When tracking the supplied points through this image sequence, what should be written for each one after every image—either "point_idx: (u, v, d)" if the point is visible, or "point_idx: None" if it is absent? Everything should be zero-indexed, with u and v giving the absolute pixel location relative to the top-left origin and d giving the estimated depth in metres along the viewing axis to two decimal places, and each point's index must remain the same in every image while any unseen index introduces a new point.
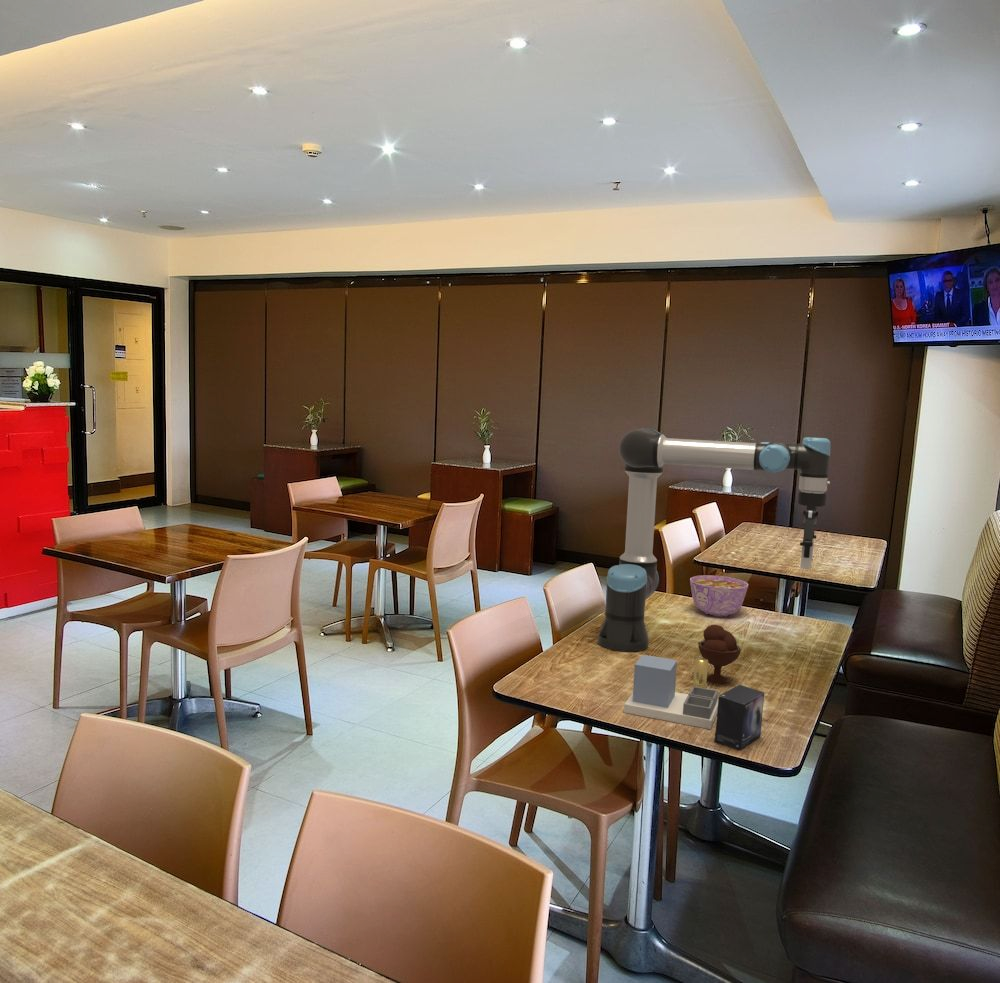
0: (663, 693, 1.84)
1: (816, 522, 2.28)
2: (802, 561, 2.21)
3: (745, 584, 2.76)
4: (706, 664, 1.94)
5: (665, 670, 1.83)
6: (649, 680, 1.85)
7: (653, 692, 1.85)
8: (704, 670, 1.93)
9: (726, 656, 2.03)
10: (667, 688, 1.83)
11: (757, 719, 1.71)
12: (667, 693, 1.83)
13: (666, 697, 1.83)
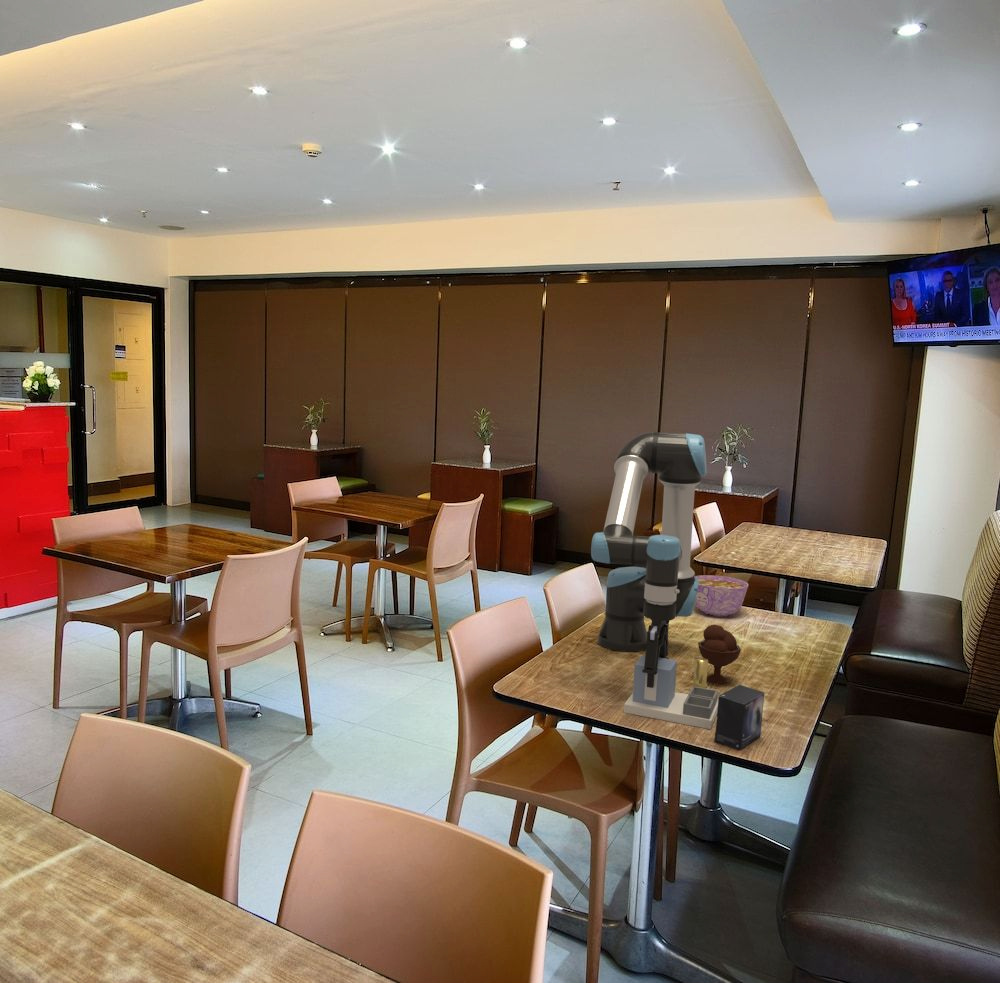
0: (663, 693, 1.84)
1: (666, 638, 1.89)
2: (645, 691, 1.85)
3: (745, 584, 2.76)
4: (706, 664, 1.94)
5: (665, 670, 1.83)
6: None
7: None
8: (704, 670, 1.93)
9: (726, 656, 2.03)
10: (667, 688, 1.83)
11: (757, 719, 1.71)
12: (667, 693, 1.83)
13: (666, 697, 1.83)
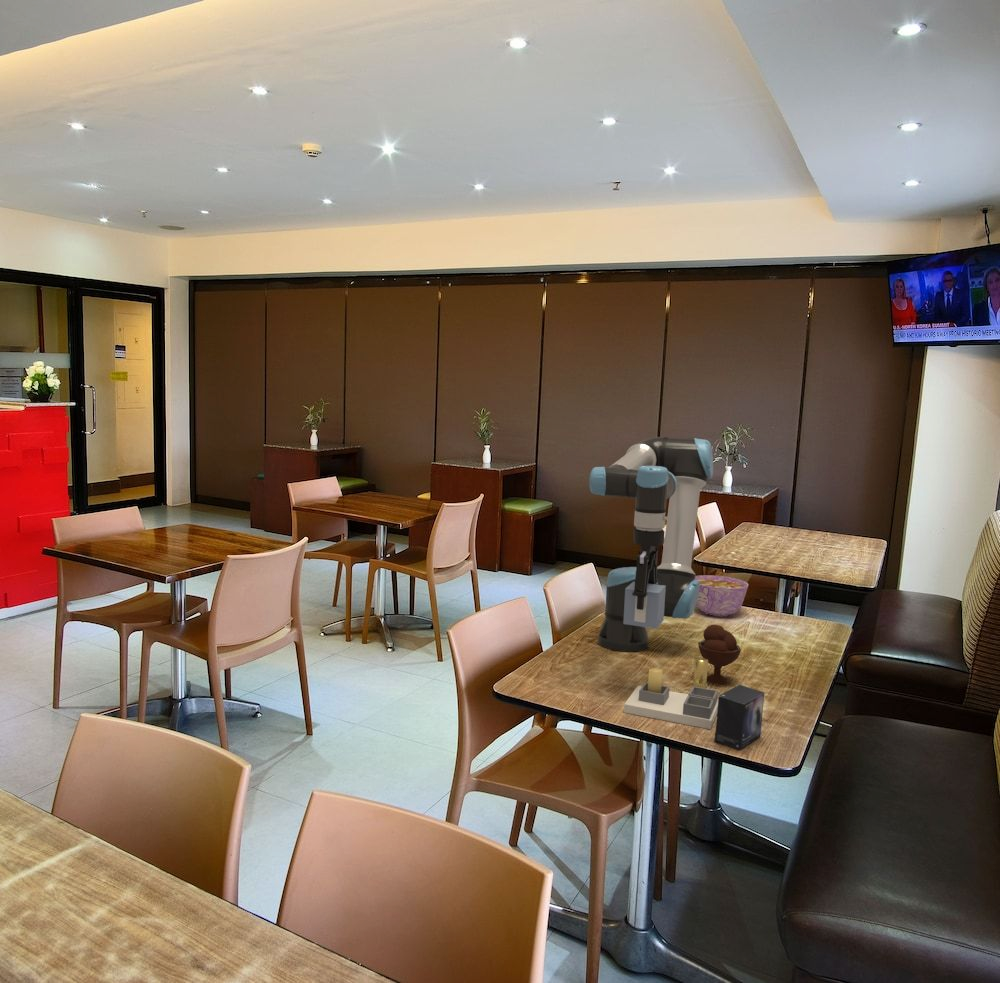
0: (652, 615, 1.93)
1: (655, 564, 1.98)
2: (635, 613, 1.94)
3: (745, 584, 2.76)
4: (706, 664, 1.94)
5: (654, 593, 1.93)
6: None
7: None
8: (704, 670, 1.93)
9: (726, 656, 2.03)
10: (656, 610, 1.93)
11: (757, 719, 1.71)
12: (656, 615, 1.93)
13: (655, 618, 1.93)
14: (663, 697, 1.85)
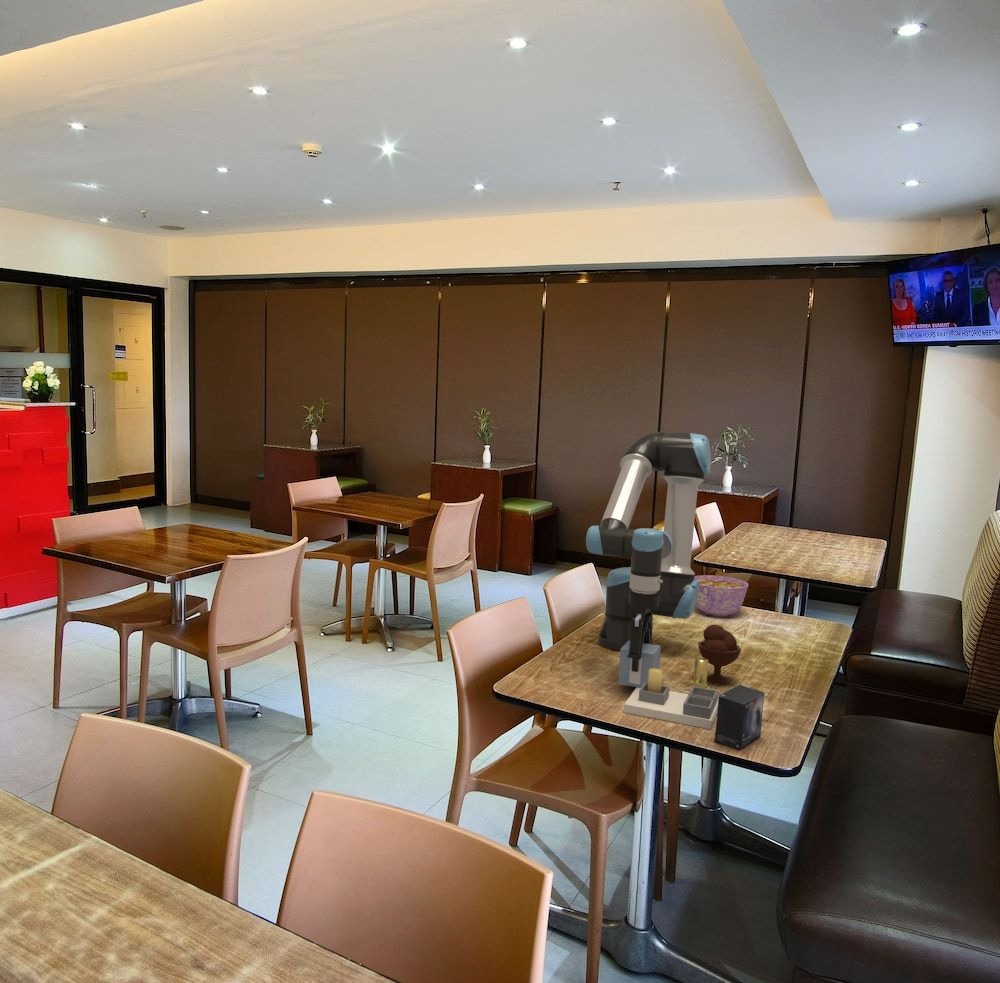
0: (647, 676, 1.95)
1: (650, 626, 2.00)
2: (630, 675, 1.96)
3: (745, 584, 2.76)
4: (706, 664, 1.94)
5: (649, 654, 1.95)
6: None
7: None
8: (704, 670, 1.93)
9: (726, 656, 2.03)
10: None
11: (757, 719, 1.71)
12: None
13: None
14: (663, 697, 1.85)
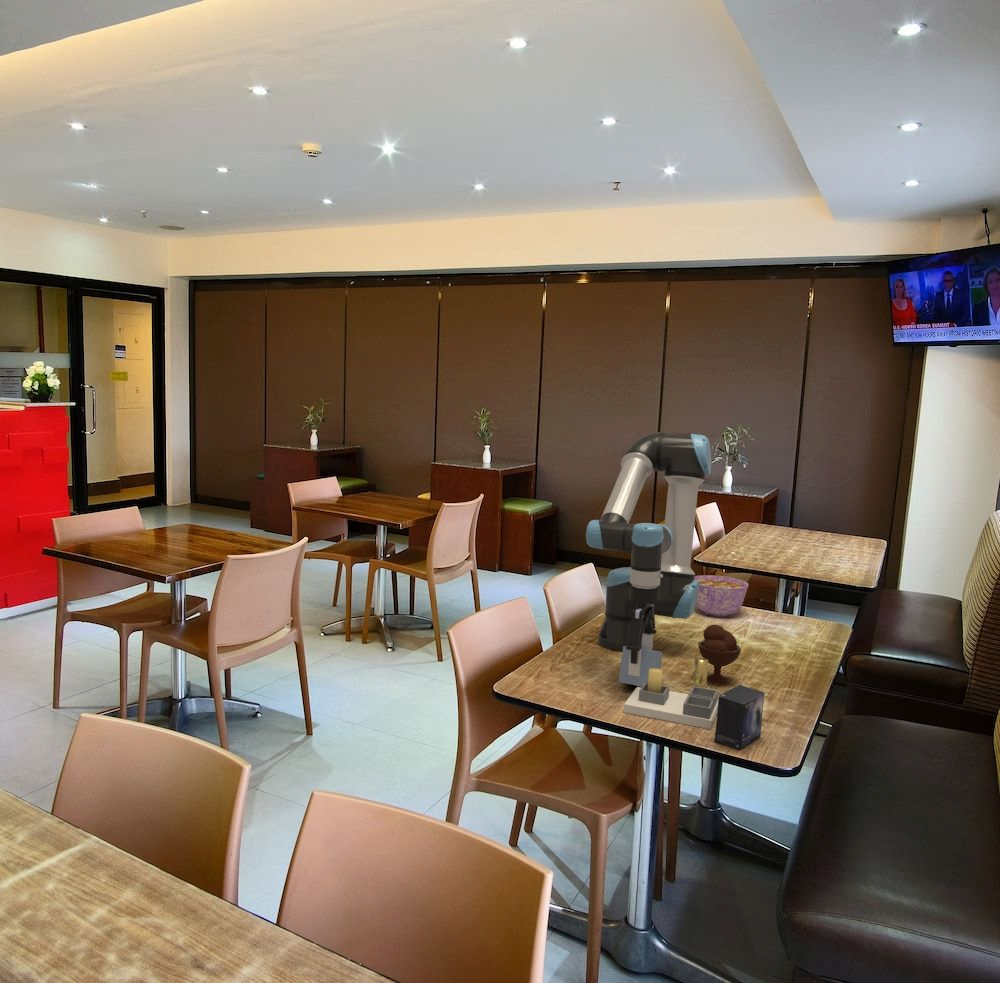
0: (648, 674, 1.96)
1: (651, 618, 2.01)
2: (629, 667, 1.94)
3: (745, 584, 2.76)
4: (706, 664, 1.94)
5: (651, 651, 1.97)
6: None
7: None
8: (704, 670, 1.93)
9: (726, 656, 2.03)
10: None
11: (757, 719, 1.71)
12: None
13: None
14: (663, 697, 1.85)
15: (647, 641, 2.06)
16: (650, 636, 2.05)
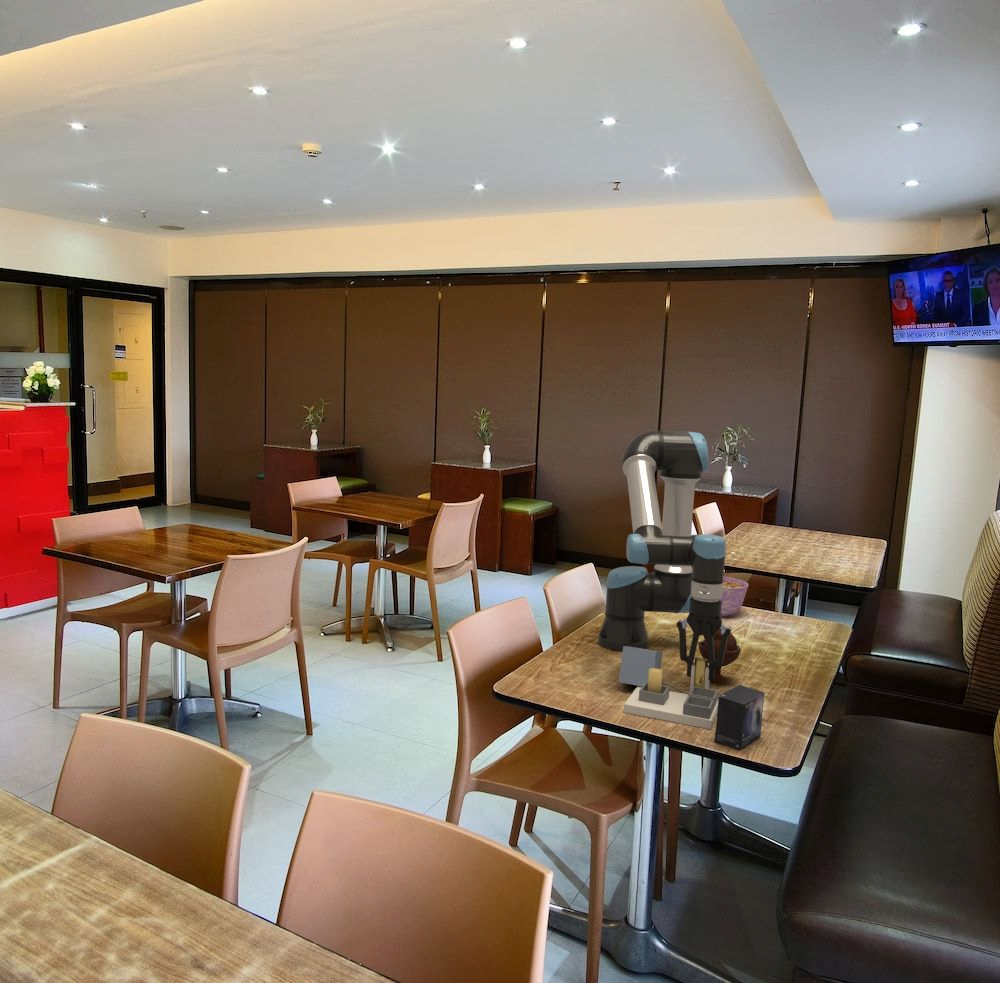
0: (648, 674, 1.96)
1: None
2: None
3: (745, 584, 2.76)
4: (706, 664, 1.94)
5: (651, 651, 1.97)
6: (635, 661, 1.98)
7: (639, 673, 1.97)
8: (704, 670, 1.93)
9: (726, 656, 2.03)
10: None
11: (757, 719, 1.71)
12: None
13: None
14: (663, 697, 1.85)
15: None
16: (706, 668, 1.94)
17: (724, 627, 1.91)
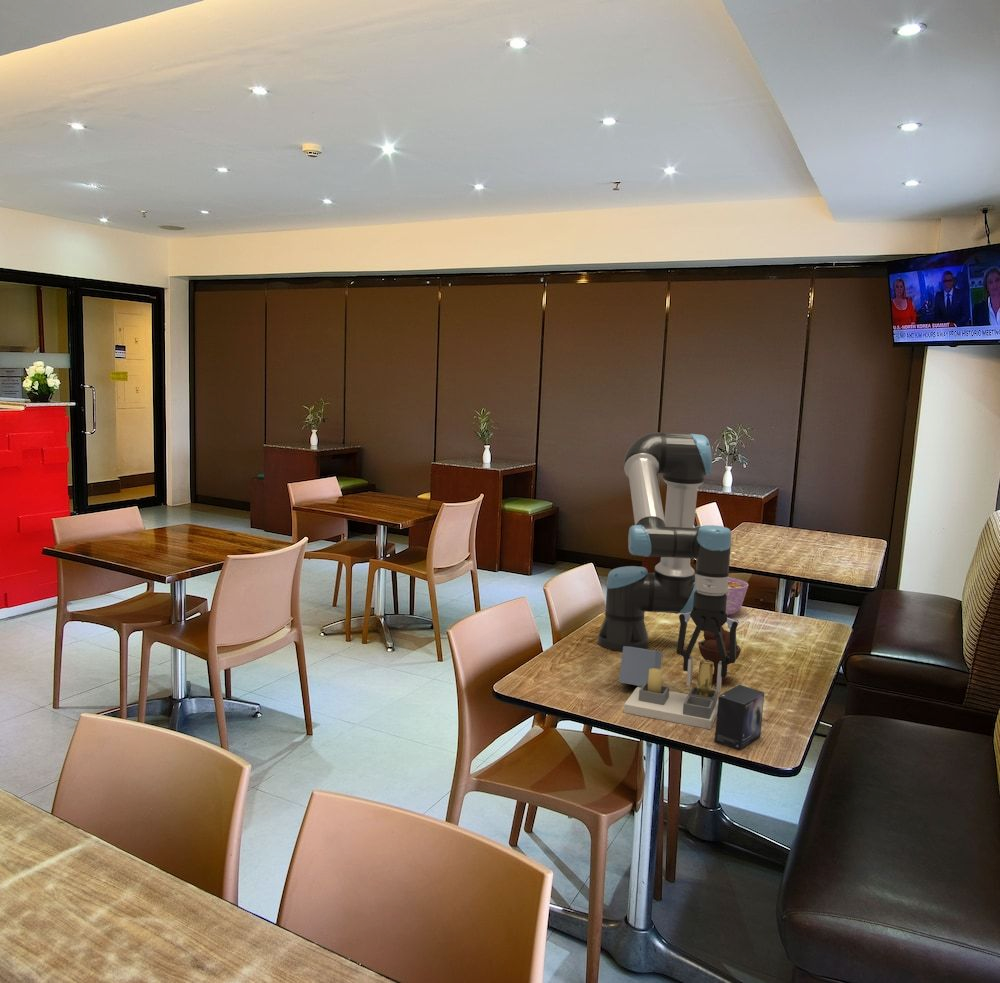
0: (648, 674, 1.96)
1: None
2: None
3: (745, 584, 2.76)
4: (711, 667, 1.85)
5: (651, 651, 1.97)
6: (635, 661, 1.98)
7: (639, 673, 1.97)
8: (709, 673, 1.85)
9: None
10: None
11: (757, 719, 1.71)
12: None
13: None
14: (663, 697, 1.85)
15: None
16: (718, 665, 1.85)
17: (730, 621, 1.83)
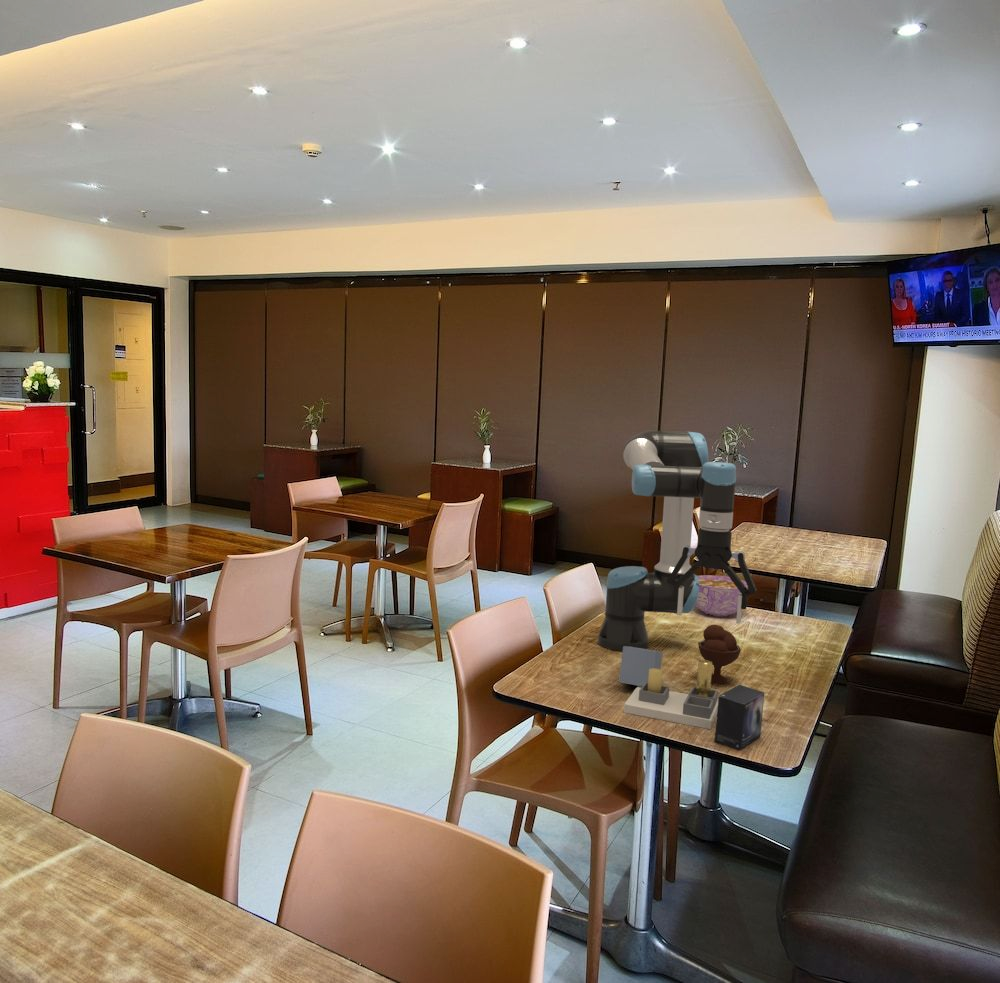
0: (648, 674, 1.96)
1: None
2: None
3: (745, 584, 2.76)
4: (710, 667, 1.85)
5: (651, 651, 1.97)
6: (635, 661, 1.98)
7: (639, 673, 1.97)
8: (708, 673, 1.85)
9: (726, 656, 2.03)
10: None
11: (757, 719, 1.71)
12: None
13: None
14: (663, 697, 1.85)
15: None
16: None
17: (735, 554, 1.81)
